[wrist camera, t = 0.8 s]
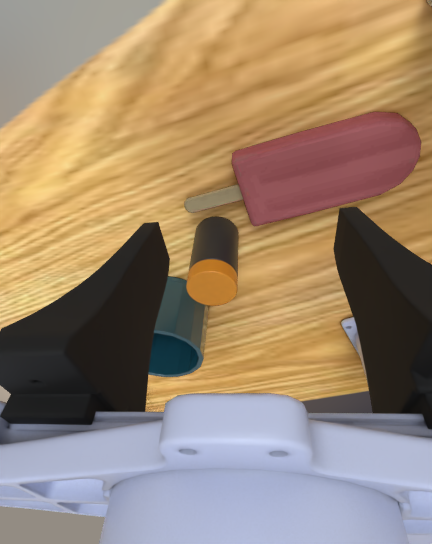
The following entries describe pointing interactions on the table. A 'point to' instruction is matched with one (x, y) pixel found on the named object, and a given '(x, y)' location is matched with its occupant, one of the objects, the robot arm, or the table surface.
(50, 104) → the table surface
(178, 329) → the tumbler
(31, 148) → the table surface
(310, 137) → the popsicle
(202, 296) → the glue stick
